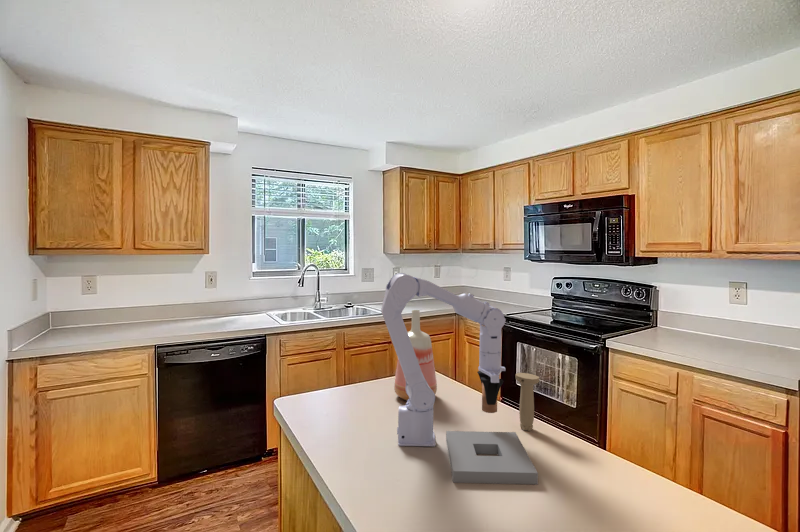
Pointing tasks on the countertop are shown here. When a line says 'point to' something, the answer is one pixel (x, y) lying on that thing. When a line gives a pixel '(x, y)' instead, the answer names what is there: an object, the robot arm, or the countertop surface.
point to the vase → (424, 357)
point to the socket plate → (489, 458)
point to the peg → (485, 406)
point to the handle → (526, 399)
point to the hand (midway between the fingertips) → (489, 401)
